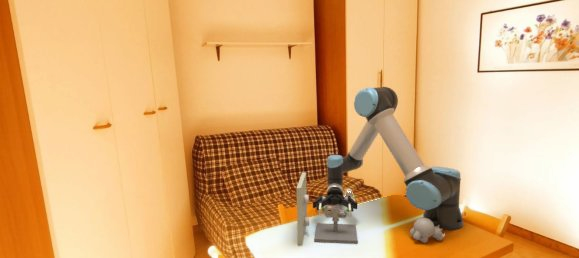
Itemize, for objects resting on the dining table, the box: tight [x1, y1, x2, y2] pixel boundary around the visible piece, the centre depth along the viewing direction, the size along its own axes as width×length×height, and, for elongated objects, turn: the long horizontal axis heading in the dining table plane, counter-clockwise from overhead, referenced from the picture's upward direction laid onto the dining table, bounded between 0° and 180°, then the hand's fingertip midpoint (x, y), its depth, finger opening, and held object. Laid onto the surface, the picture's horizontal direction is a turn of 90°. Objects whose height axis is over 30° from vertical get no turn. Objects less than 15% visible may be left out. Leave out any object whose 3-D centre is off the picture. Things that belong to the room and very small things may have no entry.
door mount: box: [296, 172, 359, 246], centre depth 131 cm, size 22×20×22 cm
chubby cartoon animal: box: [409, 217, 446, 244], centre depth 125 cm, size 7×12×8 cm, turn 87°
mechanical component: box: [321, 205, 349, 232], centre depth 132 cm, size 3×10×10 cm, turn 78°
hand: (334, 212), depth 135 cm, fingers open, 11 cm apart
